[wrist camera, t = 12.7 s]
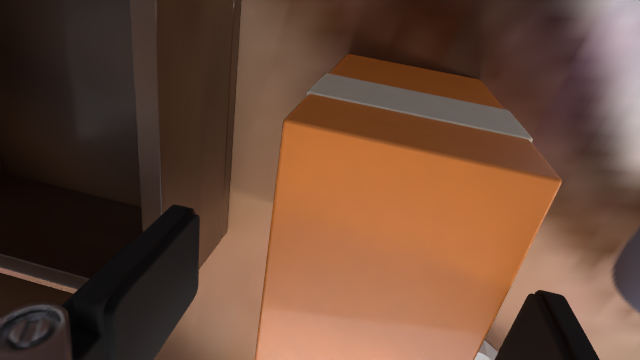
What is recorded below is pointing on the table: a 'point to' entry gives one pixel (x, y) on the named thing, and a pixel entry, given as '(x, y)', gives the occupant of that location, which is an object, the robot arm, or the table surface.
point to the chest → (111, 126)
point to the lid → (26, 293)
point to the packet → (397, 216)
